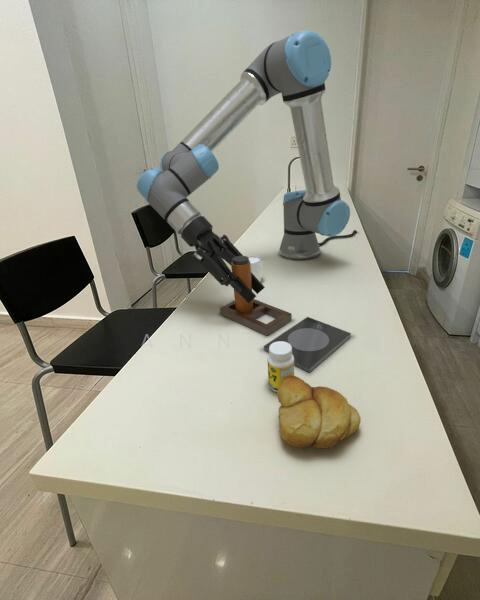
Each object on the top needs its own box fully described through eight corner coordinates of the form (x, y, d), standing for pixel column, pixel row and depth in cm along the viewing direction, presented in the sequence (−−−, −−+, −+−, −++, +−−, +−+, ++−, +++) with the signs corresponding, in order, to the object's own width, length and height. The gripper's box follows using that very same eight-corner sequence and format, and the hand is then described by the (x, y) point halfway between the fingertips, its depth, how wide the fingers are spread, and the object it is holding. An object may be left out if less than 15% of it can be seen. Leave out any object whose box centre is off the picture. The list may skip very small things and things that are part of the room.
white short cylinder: (260, 286, 101) (259, 264, 98) (238, 284, 102) (236, 263, 99) (265, 277, 107) (264, 256, 104) (244, 276, 108) (243, 255, 105)
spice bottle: (244, 307, 89) (240, 253, 82) (257, 312, 86) (253, 257, 79) (232, 313, 86) (226, 259, 79) (244, 319, 83) (240, 263, 76)
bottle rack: (245, 301, 92) (244, 295, 91) (291, 320, 82) (291, 313, 81) (220, 314, 86) (219, 307, 85) (267, 336, 76) (267, 328, 75)
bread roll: (357, 411, 55) (361, 373, 51) (363, 463, 46) (368, 422, 43) (280, 405, 57) (279, 368, 53) (272, 454, 48) (270, 413, 44)
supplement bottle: (264, 380, 62) (262, 343, 59) (287, 373, 64) (286, 337, 60) (274, 396, 58) (273, 358, 55) (298, 388, 60) (298, 351, 56)
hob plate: (307, 320, 82) (307, 316, 81) (350, 336, 74) (351, 332, 74) (263, 349, 71) (263, 345, 71) (309, 372, 64) (309, 368, 63)
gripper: (202, 226, 90) (261, 289, 92) (161, 245, 75) (231, 319, 77) (217, 207, 85) (278, 273, 87) (176, 224, 71) (251, 302, 73)
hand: (256, 295), depth 82 cm, fingers closed on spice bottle, 5 cm apart
